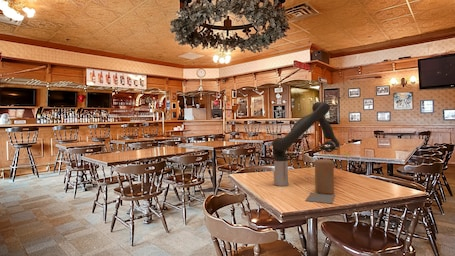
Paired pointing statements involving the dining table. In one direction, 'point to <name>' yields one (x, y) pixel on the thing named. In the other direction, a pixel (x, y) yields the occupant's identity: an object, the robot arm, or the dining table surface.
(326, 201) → the mat
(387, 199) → the dining table surface
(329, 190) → the block
